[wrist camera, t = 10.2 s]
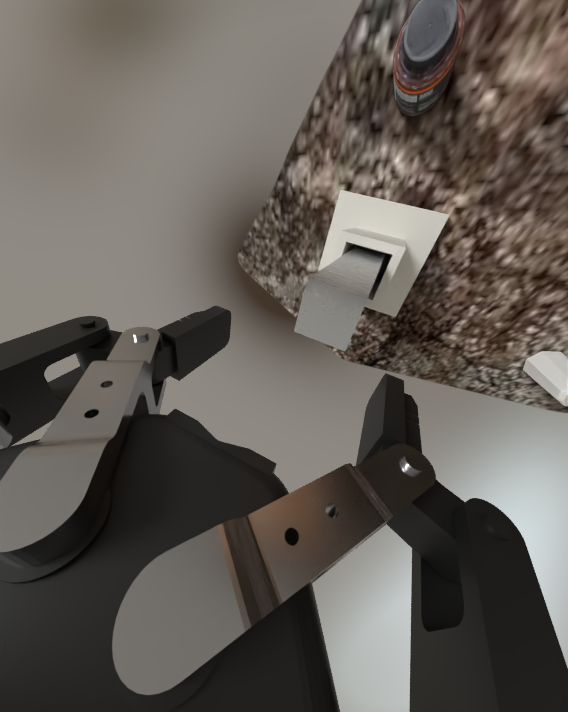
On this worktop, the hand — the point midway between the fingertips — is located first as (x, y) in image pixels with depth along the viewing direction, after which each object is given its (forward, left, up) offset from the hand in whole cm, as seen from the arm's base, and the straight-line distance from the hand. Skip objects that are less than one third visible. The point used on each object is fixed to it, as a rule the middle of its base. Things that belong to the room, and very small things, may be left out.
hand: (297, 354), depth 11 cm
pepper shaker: (-32, +8, -36) cm, 49 cm away
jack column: (0, 0, -27) cm, 27 cm away
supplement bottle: (+2, -20, -36) cm, 41 cm away
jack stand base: (0, 0, -36) cm, 36 cm away
